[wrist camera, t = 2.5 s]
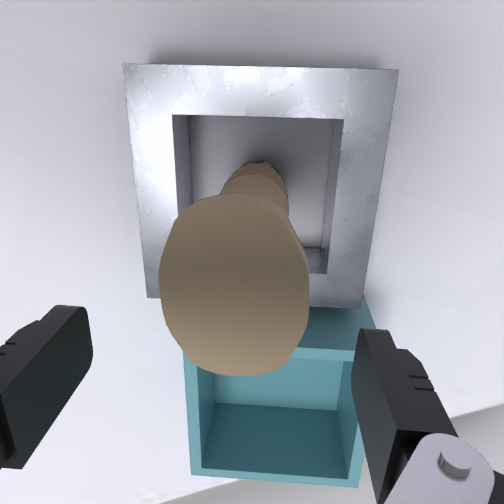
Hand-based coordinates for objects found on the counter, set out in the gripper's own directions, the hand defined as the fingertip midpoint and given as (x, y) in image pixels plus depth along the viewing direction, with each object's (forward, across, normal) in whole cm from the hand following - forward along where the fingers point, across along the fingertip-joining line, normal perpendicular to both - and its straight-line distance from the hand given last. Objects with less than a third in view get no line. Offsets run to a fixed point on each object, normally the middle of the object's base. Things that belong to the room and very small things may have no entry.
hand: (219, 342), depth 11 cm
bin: (+17, -2, +13) cm, 21 cm away
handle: (+17, 0, -1) cm, 17 cm away
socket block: (+16, 0, -1) cm, 17 cm away
